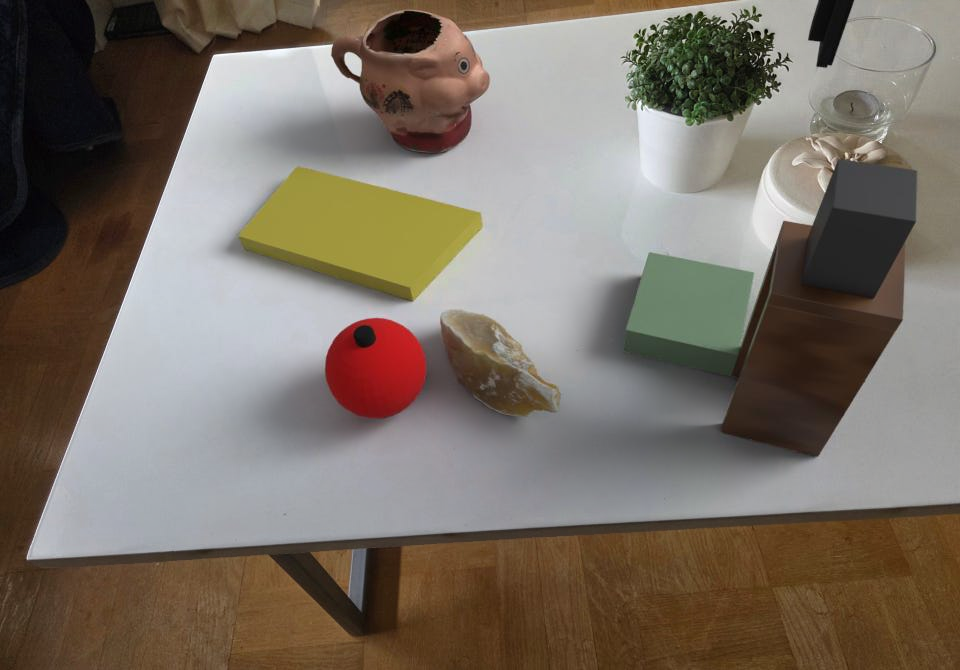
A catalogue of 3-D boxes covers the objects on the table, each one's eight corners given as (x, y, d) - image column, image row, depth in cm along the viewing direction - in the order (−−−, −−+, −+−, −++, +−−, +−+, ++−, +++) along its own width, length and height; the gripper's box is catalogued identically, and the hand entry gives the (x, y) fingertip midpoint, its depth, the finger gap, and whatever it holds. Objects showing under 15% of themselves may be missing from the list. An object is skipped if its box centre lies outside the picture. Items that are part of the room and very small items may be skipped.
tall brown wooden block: (825, 389, 65) (906, 241, 50) (818, 457, 61) (903, 319, 46) (732, 368, 67) (783, 220, 52) (720, 432, 63) (770, 293, 48)
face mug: (328, 153, 91) (296, 52, 80) (364, 93, 98) (339, -7, 86) (482, 172, 86) (470, 67, 75) (508, 108, 93) (501, 4, 82)
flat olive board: (244, 249, 82) (434, 307, 75) (237, 235, 80) (431, 293, 73) (302, 179, 88) (482, 226, 81) (297, 165, 86) (481, 212, 79)
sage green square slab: (746, 295, 72) (754, 272, 69) (731, 377, 67) (738, 355, 64) (645, 274, 75) (649, 251, 72) (622, 351, 69) (625, 329, 67)
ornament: (444, 362, 70) (429, 297, 62) (417, 444, 65) (397, 384, 57) (357, 349, 72) (332, 283, 64) (324, 427, 67) (292, 367, 59)
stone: (455, 278, 68) (576, 363, 60) (477, 310, 73) (591, 392, 65) (404, 334, 67) (520, 429, 59) (430, 363, 72) (540, 453, 65)
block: (877, 249, 50) (918, 170, 44) (874, 299, 47) (916, 221, 42) (807, 237, 51) (838, 158, 45) (800, 284, 48) (832, 207, 43)
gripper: (847, -376, 23) (738, 85, 37) (1562, -395, 19) (1137, 138, 33) (861, -427, 27) (758, 6, 41) (1454, -453, 23) (1116, 44, 37)
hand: (926, 64), depth 37 cm, fingers open, 9 cm apart
